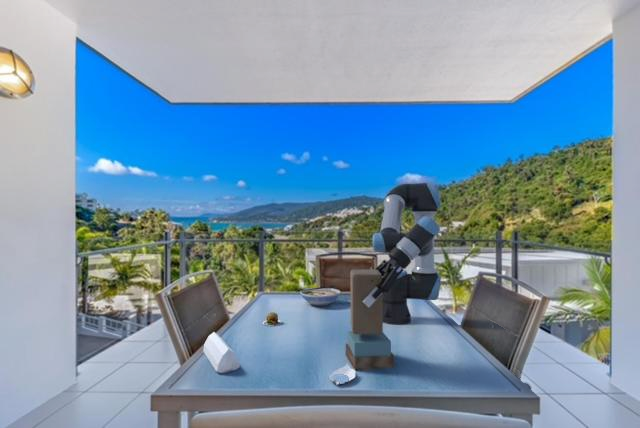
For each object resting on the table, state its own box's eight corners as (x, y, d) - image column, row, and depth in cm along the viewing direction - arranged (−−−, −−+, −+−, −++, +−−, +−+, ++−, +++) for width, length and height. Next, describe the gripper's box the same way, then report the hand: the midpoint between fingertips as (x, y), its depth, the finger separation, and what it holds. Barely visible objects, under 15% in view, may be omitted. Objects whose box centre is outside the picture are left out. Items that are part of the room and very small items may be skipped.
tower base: (380, 354, 127) (380, 341, 127) (394, 369, 114) (394, 355, 114) (345, 356, 125) (345, 343, 125) (355, 372, 112) (355, 358, 112)
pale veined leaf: (359, 371, 110) (359, 363, 110) (350, 392, 99) (349, 383, 99) (336, 369, 113) (335, 362, 113) (323, 389, 102) (322, 381, 102)
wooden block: (383, 335, 115) (382, 274, 114) (352, 335, 115) (351, 274, 114) (379, 325, 125) (378, 268, 124) (350, 325, 125) (350, 268, 124)
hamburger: (270, 330, 154) (270, 318, 154) (253, 324, 162) (253, 312, 162) (290, 324, 163) (290, 312, 163) (274, 319, 171) (274, 308, 171)
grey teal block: (380, 342, 126) (380, 329, 126) (391, 355, 114) (391, 341, 114) (347, 343, 125) (347, 331, 125) (354, 357, 113) (354, 342, 113)
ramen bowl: (309, 312, 182) (309, 296, 182) (291, 302, 202) (291, 288, 202) (350, 306, 193) (350, 291, 193) (329, 298, 214) (329, 284, 214)
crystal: (247, 358, 113) (227, 336, 133) (228, 350, 110) (210, 329, 130) (236, 381, 111) (217, 355, 131) (216, 373, 108) (200, 348, 128)
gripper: (426, 265, 110) (379, 317, 108) (397, 257, 134) (358, 299, 131) (410, 249, 110) (362, 300, 107) (384, 243, 133) (344, 285, 130)
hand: (360, 300), depth 119 cm, fingers closed on wooden block, 11 cm apart
